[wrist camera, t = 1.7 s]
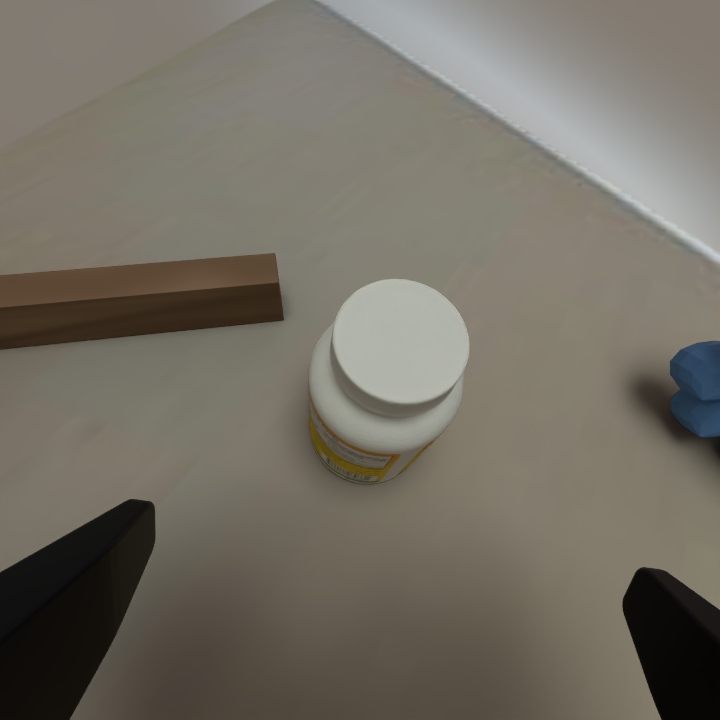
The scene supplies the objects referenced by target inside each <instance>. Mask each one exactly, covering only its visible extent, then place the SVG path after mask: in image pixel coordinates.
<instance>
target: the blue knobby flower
mask: <svg viewBox="0 0 720 720" xmlns="http://www.w3.org/2000/svg"><path fill="white" fill-rule="evenodd" d="M670 375H671V376H672V378H673V379H674V381H675V382H676V383H677V385H678V386H679V387H680V388H681V389H680V390H679V391H678V392H677V393H676V394H675V395H674V396H673V397H672V398H671V411H672V413H673V414H674V416H675V417H676V419H677V420H678V422H679V423H680V424H682V425H683V426H684V427H685V428H687V429H688V430H689V431H691V432H692V433H694V434H696V435H698V436H699V437H709V438H711V437H720V341H709V342H700V343H696V344H693V345H691V346H688V347H686V348H684V349H681V350H680V351H679V352H678V353H677V354H676V355H675V356H674V357H673V359H672V360H671V361H670Z"/></svg>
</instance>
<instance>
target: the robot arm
mask: <svg viewBox="0 0 720 720" xmlns="http://www.w3.org/2000/svg"><path fill="white" fill-rule="evenodd" d="M154 544H155V507H154V504H153V503H152V502H150V501H144V500H137V499H130V500H127V501H125V502H123V503H121V504H120V505H118V506H116V507H114V508H113V509H111V510H109V511H107V512H106V513H104V514H102V515H100V516H99V517H97V518H95V519H93V520H92V521H90V522H88V523H86V524H84V525H83V526H81V527H79V528H77V529H76V530H74V531H72V532H70V533H69V534H67V535H65V536H63V537H62V538H60V539H58V540H56V541H55V542H53V543H51V544H49V545H48V546H46V547H44V548H42V549H40V550H39V551H37V552H35V553H33V554H32V555H30V556H28V557H26V558H25V559H23V560H21V561H19V562H18V563H16V564H14V565H12V566H11V567H9V568H7V569H5V570H3V571H2V572H0V720H70V718H71V716H72V714H73V713H74V711H75V709H76V707H77V705H78V703H79V702H80V700H81V698H82V696H83V694H84V693H85V691H86V689H87V687H88V685H89V684H90V682H91V680H92V678H93V676H94V675H95V673H96V671H97V669H98V667H99V666H100V664H101V662H102V660H103V658H104V657H105V655H106V653H107V651H108V649H109V647H110V645H111V643H112V642H113V640H114V638H115V636H116V634H117V631H118V629H119V627H120V625H121V623H122V620H123V618H124V616H125V613H126V611H127V609H128V606H129V604H130V602H131V599H132V597H133V595H134V593H135V590H136V588H137V586H138V583H139V581H140V579H141V576H142V574H143V572H144V569H145V567H146V565H147V562H148V560H149V558H150V555H151V553H152V551H153V547H154ZM623 612H624V616H625V619H626V622H627V625H628V628H629V631H630V633H631V636H632V639H633V642H634V645H635V648H636V651H637V654H638V657H639V660H640V663H641V666H642V669H643V672H644V675H645V677H646V680H647V683H648V686H649V689H650V692H651V694H652V697H653V700H654V703H655V705H656V707H657V710H658V712H659V715H660V717H661V720H720V610H719V609H718V608H716V607H715V606H714V605H712V604H711V603H709V602H708V601H707V600H705V599H704V598H702V597H701V596H700V595H698V594H697V593H695V592H694V591H693V590H691V589H690V588H688V587H687V586H686V585H684V584H683V583H682V582H680V581H679V580H677V579H676V578H675V577H673V576H672V575H670V574H669V573H668V572H666V571H664V570H661V569H654V568H646V567H642V568H640V569H638V570H637V571H636V573H635V575H634V577H633V579H632V581H631V583H630V585H629V587H628V589H627V591H626V593H625V595H624V598H623Z"/></svg>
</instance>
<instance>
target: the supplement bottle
mask: <svg viewBox="0 0 720 720" xmlns="http://www.w3.org/2000/svg"><path fill="white" fill-rule="evenodd" d="M468 358H469V337H468V332H467V329H466V326H465V323H464V321H463V319H462V317H461V315H460V314H459V312H458V311H457V309H456V308H455V307H454V306H453V304H452V303H451V302H450V301H449V300H448V299H446V298H445V297H444V296H443V295H442V294H440V293H439V292H438V291H436V290H434V289H433V288H431V287H428V286H426V285H424V284H421V283H418V282H414V281H410V280H405V279H387V280H381V281H377V282H374V283H371V284H368V285H366V286H364V287H362V288H360V289H359V290H357V291H356V292H355V293H353V294H352V295H351V296H350V297H349V298H348V299H347V300H346V301H345V302H344V304H343V305H342V307H341V308H340V310H339V311H338V314H337V316H336V318H335V321H334V323H333V324H332V325H330V326H329V327H328V329H327V330H326V331H325V332H324V333H323V335H322V336H321V337H320V339H319V341H318V342H317V344H316V346H315V348H314V351H313V353H312V357H311V360H310V365H309V374H308V386H309V429H310V436H311V440H312V444H313V447H314V449H315V451H316V453H317V455H318V456H319V458H320V459H321V461H322V462H323V463H324V464H325V465H326V466H327V467H328V468H329V469H330V470H331V471H332V472H334V473H335V474H337V475H338V476H340V477H342V478H344V479H346V480H349V481H352V482H356V483H363V484H373V483H380V482H383V481H387V480H389V479H392V478H393V477H395V476H397V475H399V474H400V473H401V472H403V471H404V470H405V469H406V468H407V467H408V466H409V465H410V464H411V463H413V462H414V461H415V459H416V458H417V457H418V456H419V455H420V454H421V453H422V452H423V451H424V450H425V449H426V448H427V447H428V446H429V445H430V444H431V443H432V442H433V441H434V440H436V439H437V438H438V437H439V436H440V435H441V434H442V433H443V432H444V430H445V429H446V428H447V427H448V426H449V424H450V423H451V421H452V420H453V418H454V417H455V415H456V413H457V411H458V408H459V405H460V403H461V399H462V394H463V385H464V378H463V372H464V370H465V368H466V365H467V361H468Z"/></svg>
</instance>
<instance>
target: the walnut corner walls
mask: <svg viewBox="0 0 720 720" xmlns="http://www.w3.org/2000/svg"><path fill="white" fill-rule="evenodd" d="M280 320H284V318H283V309H282V301H281V292H280V285H279V277H278V270H277V263H276V255H275V253H271V254H259V255H247V256H234V257H222V258H210V259H197V260H185V261H173V262H160V263H148V264H136V265H123V266H111V267H99V268H86V269H74V270H61V271H49V272H37V273H24V274H12V275H0V349H7V348H16V347H26V346H36V345H46V344H55V343H65V342H75V341H85V340H94V339H104V338H114V337H124V336H134V335H143V334H153V333H163V332H173V331H182V330H192V329H202V328H212V327H221V326H231V325H241V324H251V323H261V322H270V321H280Z"/></svg>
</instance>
